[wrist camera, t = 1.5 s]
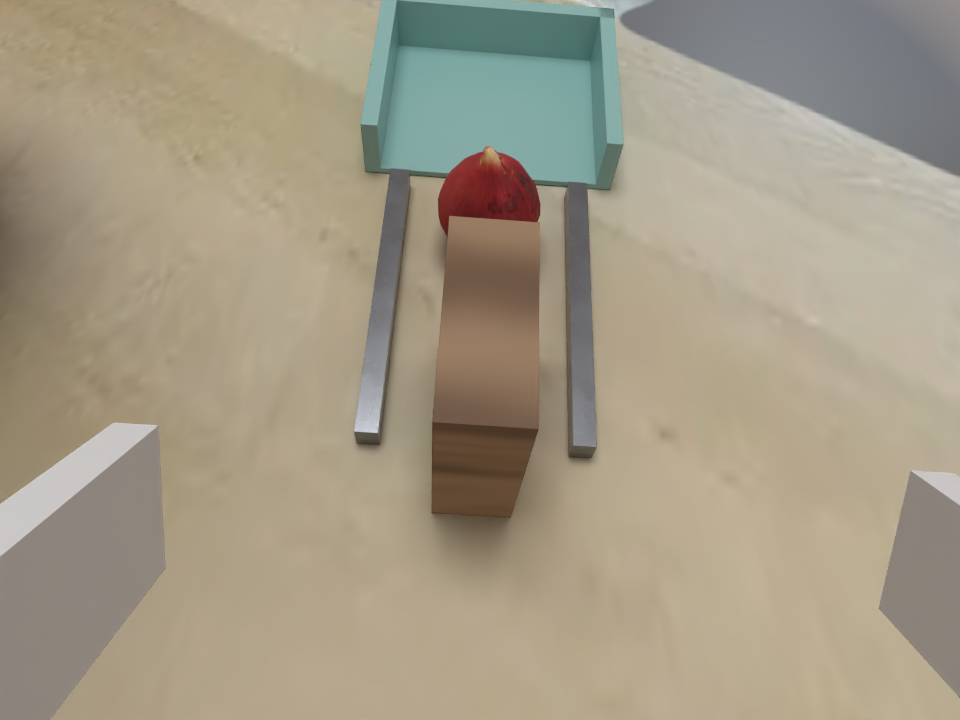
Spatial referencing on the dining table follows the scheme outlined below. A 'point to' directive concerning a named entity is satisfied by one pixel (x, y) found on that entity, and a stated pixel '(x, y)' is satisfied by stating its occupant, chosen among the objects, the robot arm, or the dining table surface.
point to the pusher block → (486, 367)
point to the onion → (488, 190)
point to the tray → (494, 89)
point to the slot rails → (576, 318)
